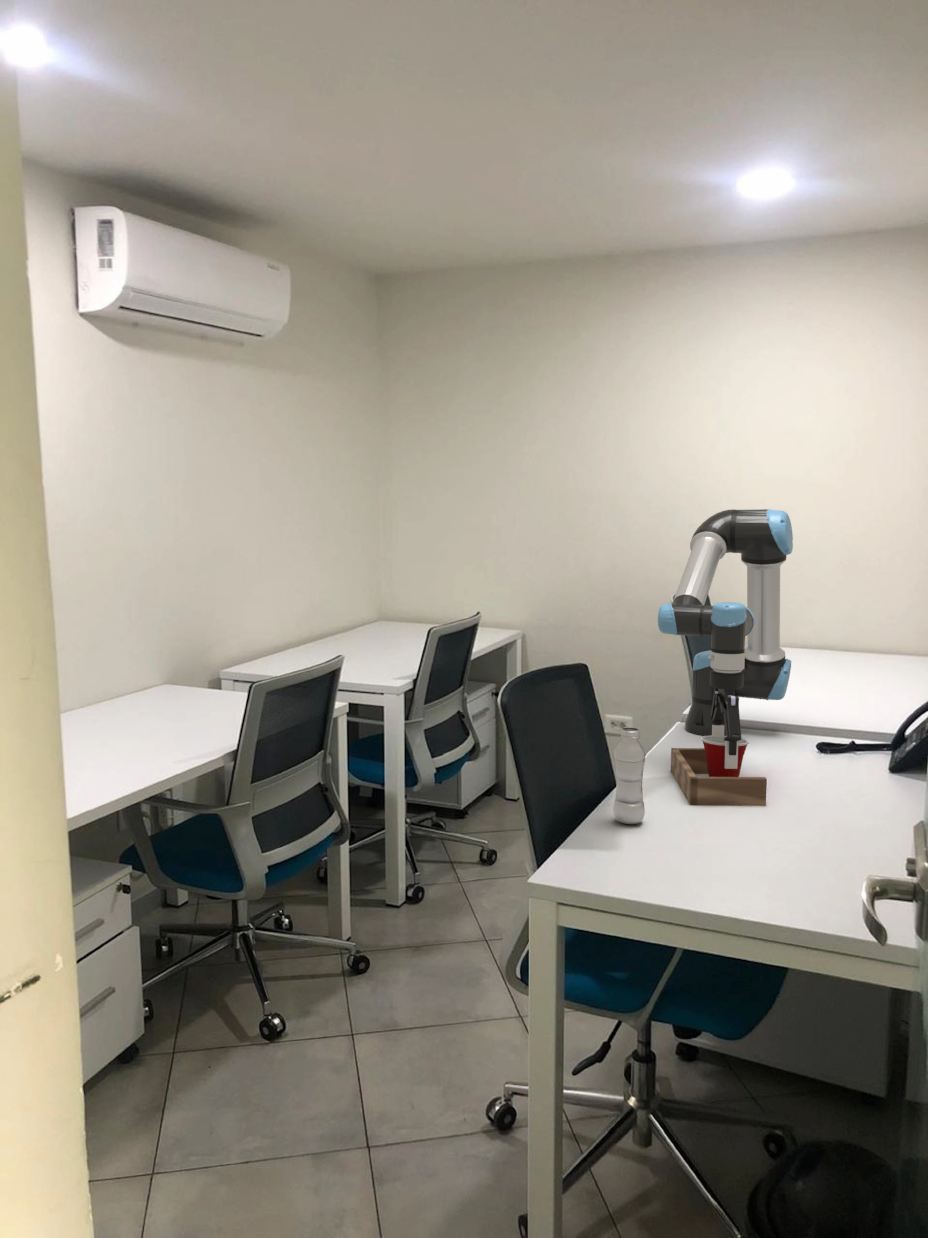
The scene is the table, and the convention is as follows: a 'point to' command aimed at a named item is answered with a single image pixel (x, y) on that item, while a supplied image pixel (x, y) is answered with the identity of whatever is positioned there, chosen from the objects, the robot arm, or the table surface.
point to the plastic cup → (721, 756)
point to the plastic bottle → (629, 778)
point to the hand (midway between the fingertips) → (723, 760)
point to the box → (713, 782)
